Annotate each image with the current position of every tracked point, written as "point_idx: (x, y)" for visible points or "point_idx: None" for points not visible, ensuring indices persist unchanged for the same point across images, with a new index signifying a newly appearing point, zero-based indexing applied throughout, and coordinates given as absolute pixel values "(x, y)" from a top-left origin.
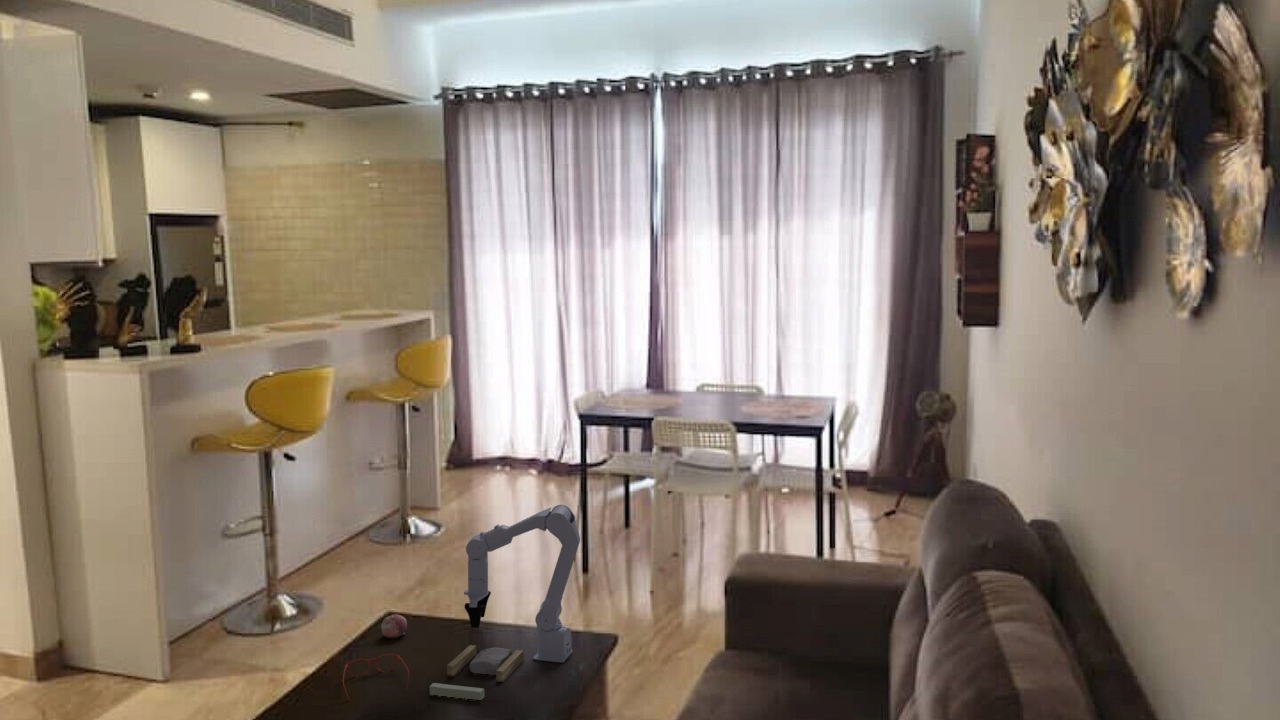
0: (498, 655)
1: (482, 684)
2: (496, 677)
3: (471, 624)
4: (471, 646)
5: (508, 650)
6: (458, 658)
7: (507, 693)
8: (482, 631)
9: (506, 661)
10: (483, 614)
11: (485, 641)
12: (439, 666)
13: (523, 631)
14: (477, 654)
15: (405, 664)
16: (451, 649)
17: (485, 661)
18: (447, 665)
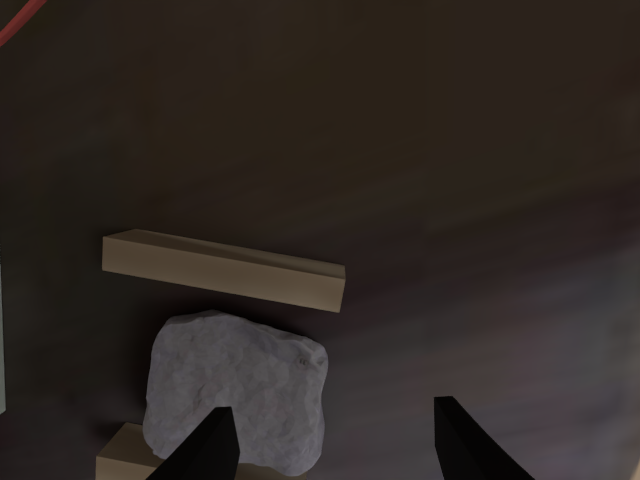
0: None
1: (94, 380)
2: (116, 433)
3: (199, 429)
4: (328, 292)
5: (285, 470)
6: (185, 269)
7: (51, 471)
8: (621, 247)
9: None
10: (443, 467)
11: (493, 293)
12: (218, 161)
13: (597, 430)
14: (266, 332)
15: (29, 7)
16: (403, 156)
17: (148, 408)
18: (105, 239)
